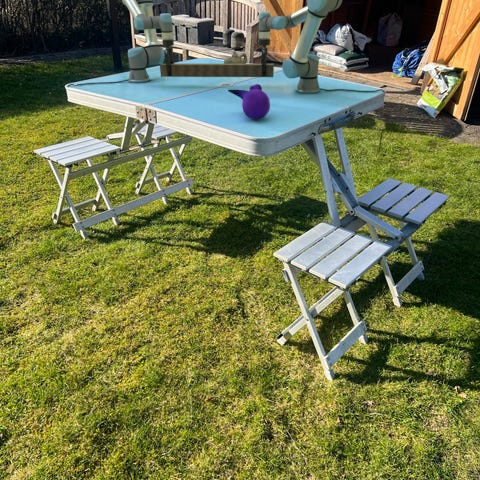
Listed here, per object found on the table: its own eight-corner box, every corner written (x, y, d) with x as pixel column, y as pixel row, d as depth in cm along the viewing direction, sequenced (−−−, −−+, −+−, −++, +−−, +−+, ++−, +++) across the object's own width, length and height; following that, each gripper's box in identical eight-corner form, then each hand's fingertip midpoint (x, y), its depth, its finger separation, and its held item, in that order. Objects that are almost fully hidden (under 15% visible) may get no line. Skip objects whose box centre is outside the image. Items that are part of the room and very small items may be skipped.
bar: (160, 76, 312) (159, 64, 308) (163, 75, 317) (161, 63, 313) (273, 77, 304) (273, 64, 300) (273, 75, 308) (273, 63, 304)
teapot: (227, 73, 361) (227, 53, 353) (221, 70, 369) (220, 51, 362) (250, 70, 370) (250, 50, 362) (243, 68, 378) (242, 49, 371)
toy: (252, 108, 261) (269, 126, 240) (224, 103, 254) (239, 121, 233) (259, 81, 253) (278, 97, 232) (231, 75, 246) (247, 91, 225)
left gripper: (169, 40, 293) (172, 77, 305) (176, 37, 309) (179, 72, 321) (158, 40, 294) (162, 77, 306) (165, 37, 310) (169, 72, 322)
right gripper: (269, 40, 286) (268, 78, 298) (270, 36, 302) (270, 72, 314) (257, 40, 287) (257, 78, 299) (259, 36, 303) (259, 72, 315)
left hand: (170, 75), depth 314 cm, fingers closed on bar, 6 cm apart
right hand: (264, 75), depth 306 cm, fingers closed on bar, 6 cm apart
